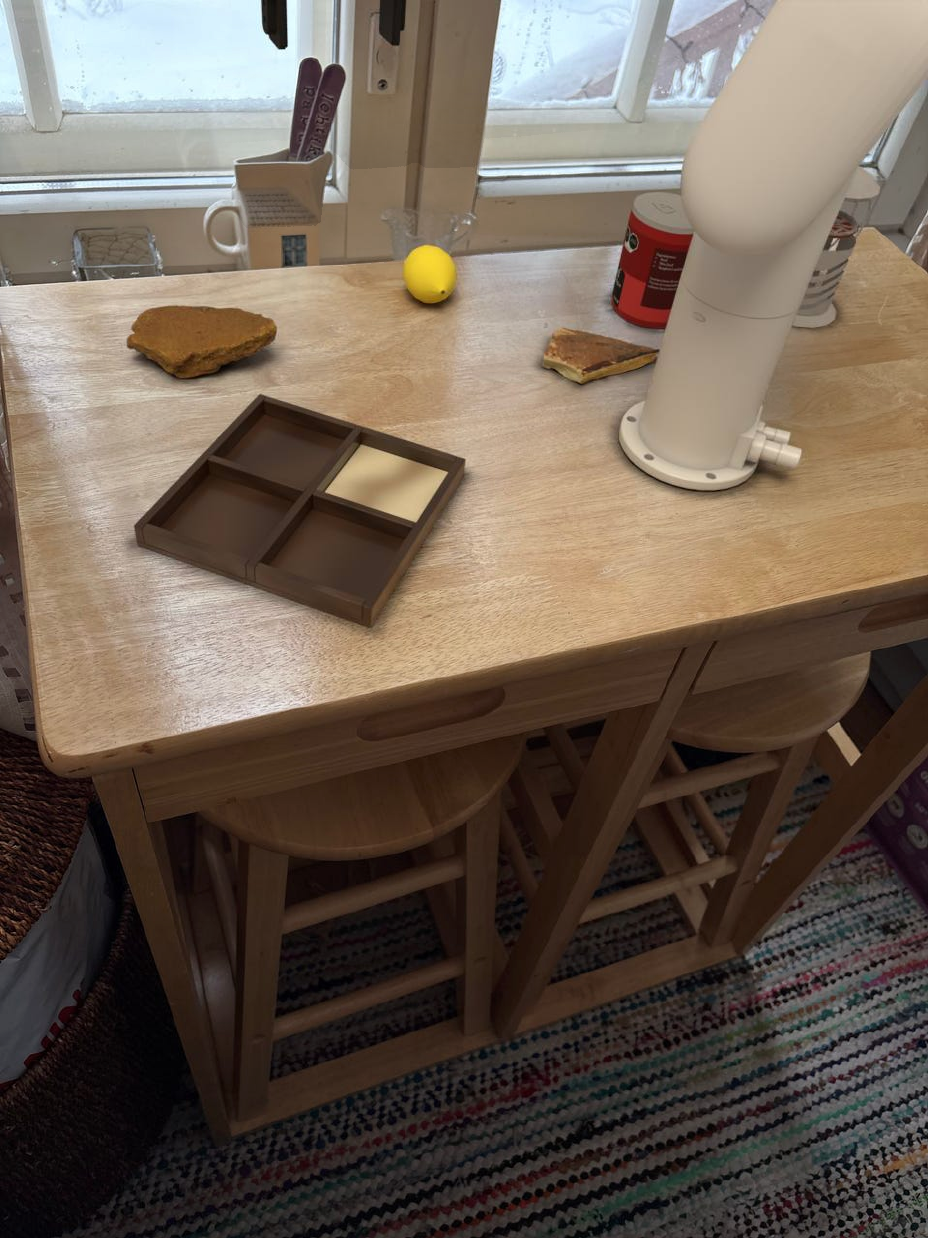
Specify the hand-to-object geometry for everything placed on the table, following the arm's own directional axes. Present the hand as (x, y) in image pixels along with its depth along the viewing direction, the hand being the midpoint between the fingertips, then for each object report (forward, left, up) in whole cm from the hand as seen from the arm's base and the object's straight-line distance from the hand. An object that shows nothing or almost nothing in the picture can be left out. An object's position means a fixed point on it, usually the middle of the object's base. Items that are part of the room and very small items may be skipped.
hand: (334, 41), depth 81 cm
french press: (-44, -27, -24) cm, 57 cm away
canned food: (-29, -16, -24) cm, 41 cm away
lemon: (-8, -6, -24) cm, 26 cm away
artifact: (+7, +14, -24) cm, 29 cm away
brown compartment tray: (-12, +29, -24) cm, 39 cm away
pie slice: (-26, -4, -24) cm, 36 cm away
